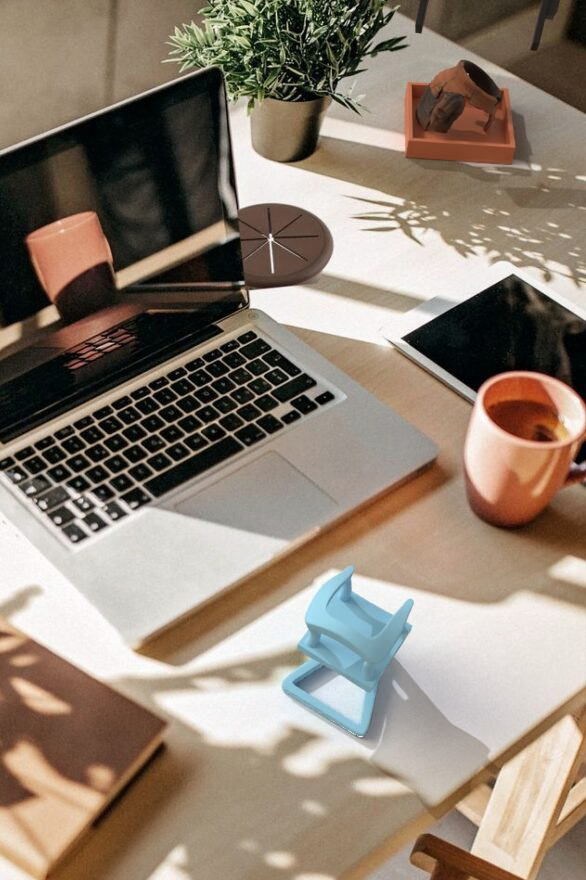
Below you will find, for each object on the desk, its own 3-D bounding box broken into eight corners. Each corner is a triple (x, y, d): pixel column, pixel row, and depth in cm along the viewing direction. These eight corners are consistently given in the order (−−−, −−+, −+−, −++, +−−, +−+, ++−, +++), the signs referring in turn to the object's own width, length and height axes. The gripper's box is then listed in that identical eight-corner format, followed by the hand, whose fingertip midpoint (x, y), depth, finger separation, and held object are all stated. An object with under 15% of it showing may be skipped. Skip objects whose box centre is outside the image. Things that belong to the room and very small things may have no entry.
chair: (411, 662, 81) (437, 587, 71) (361, 740, 77) (381, 672, 67) (332, 616, 83) (346, 537, 74) (279, 689, 79) (287, 616, 70)
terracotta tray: (504, 105, 129) (508, 88, 127) (511, 164, 122) (515, 147, 120) (404, 98, 130) (407, 81, 128) (405, 157, 122) (408, 140, 120)
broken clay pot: (420, 97, 130) (461, 45, 124) (472, 145, 131) (516, 96, 125) (395, 121, 121) (439, 66, 115) (451, 173, 122) (497, 121, 116)
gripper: (625, -129, 112) (579, 64, 115) (411, -155, 115) (372, 33, 119) (640, -164, 105) (590, 43, 108) (410, -191, 108) (369, 10, 112)
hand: (475, 38), depth 114 cm, fingers open, 13 cm apart
